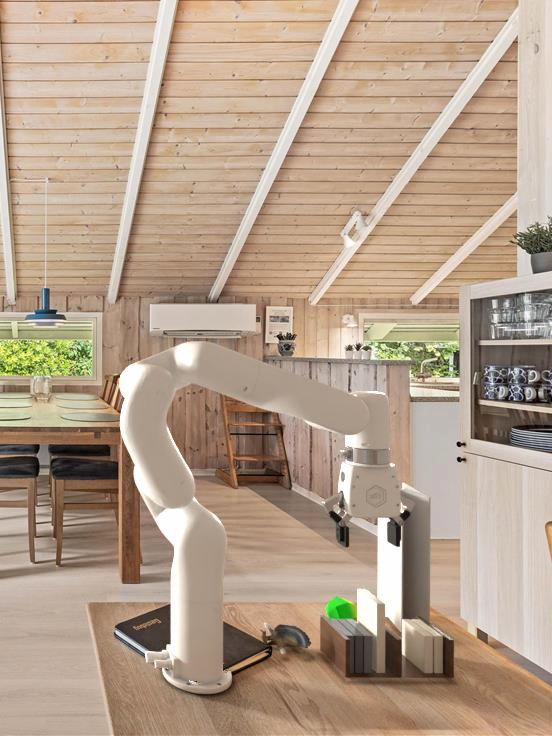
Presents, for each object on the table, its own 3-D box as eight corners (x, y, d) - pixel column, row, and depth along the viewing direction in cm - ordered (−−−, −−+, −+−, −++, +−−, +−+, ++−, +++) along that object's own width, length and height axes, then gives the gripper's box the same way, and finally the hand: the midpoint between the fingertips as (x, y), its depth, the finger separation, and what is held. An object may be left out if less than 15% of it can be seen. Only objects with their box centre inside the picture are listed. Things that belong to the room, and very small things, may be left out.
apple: (329, 593, 137) (364, 590, 138) (314, 603, 141) (349, 599, 143) (344, 627, 132) (380, 623, 134) (329, 636, 137) (364, 632, 139)
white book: (376, 673, 116) (376, 603, 116) (356, 654, 123) (357, 588, 123) (385, 673, 116) (385, 603, 116) (364, 654, 123) (365, 588, 123)
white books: (424, 673, 116) (424, 636, 116) (401, 654, 123) (401, 618, 123) (443, 673, 116) (443, 636, 116) (419, 654, 123) (419, 619, 123)
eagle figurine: (265, 658, 121) (314, 656, 119) (257, 618, 125) (305, 615, 123) (265, 663, 127) (312, 661, 125) (258, 625, 131) (303, 622, 129)
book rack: (345, 682, 115) (345, 639, 115) (320, 655, 125) (320, 615, 125) (454, 683, 115) (454, 640, 115) (419, 655, 125) (419, 615, 125)
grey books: (346, 673, 116) (346, 635, 116) (327, 653, 123) (327, 618, 123) (372, 673, 116) (372, 635, 116) (352, 653, 123) (352, 618, 123)
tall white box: (430, 639, 131) (430, 497, 131) (401, 637, 132) (401, 496, 132) (403, 610, 145) (403, 482, 145) (377, 608, 146) (378, 481, 146)
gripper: (332, 460, 116) (333, 552, 116) (425, 459, 116) (426, 551, 116) (313, 452, 123) (314, 538, 123) (400, 451, 123) (401, 538, 123)
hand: (368, 544), depth 120 cm, fingers open, 9 cm apart
